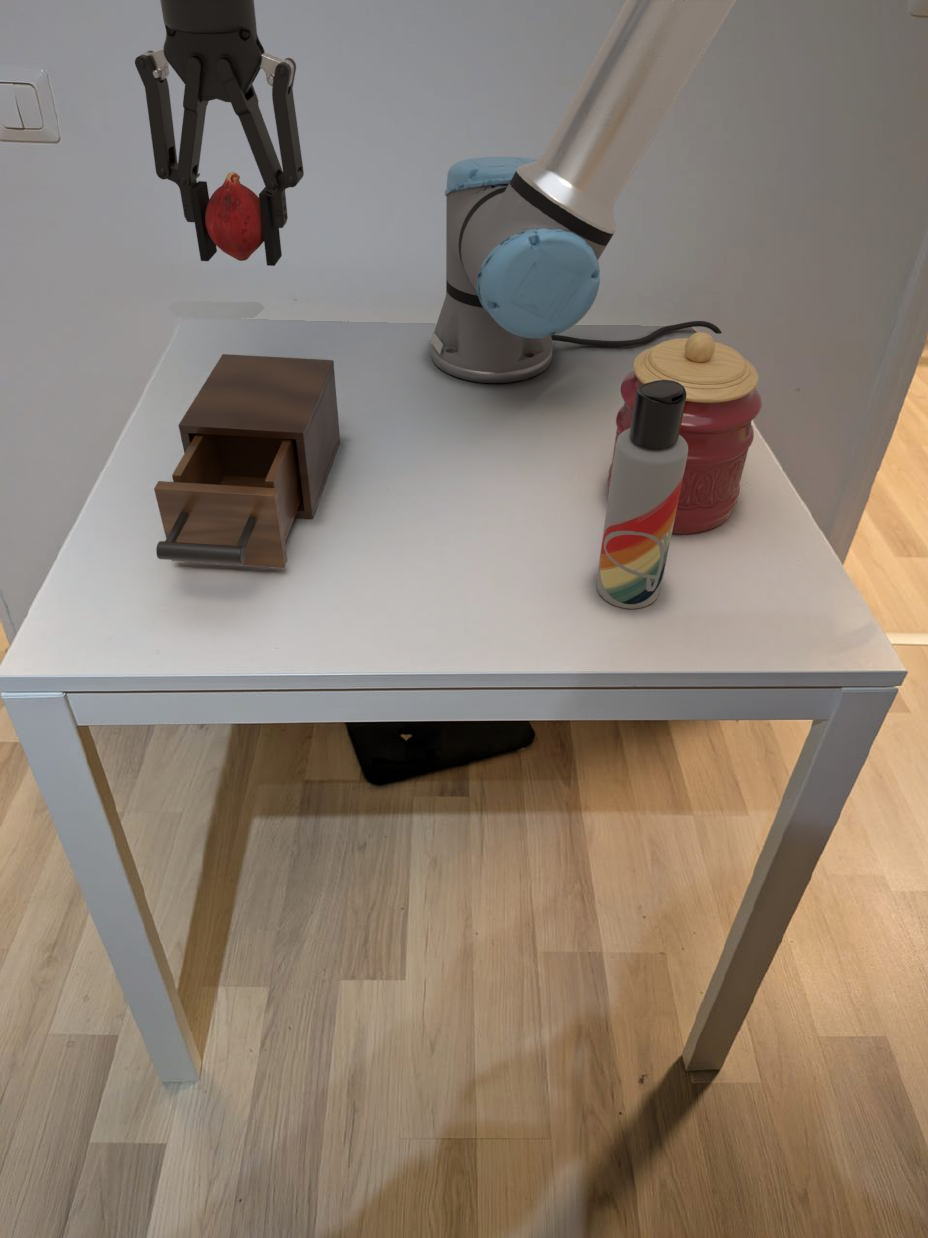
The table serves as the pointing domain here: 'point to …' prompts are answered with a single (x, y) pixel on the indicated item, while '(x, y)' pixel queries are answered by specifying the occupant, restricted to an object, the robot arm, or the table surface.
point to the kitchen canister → (702, 421)
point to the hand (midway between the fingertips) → (241, 257)
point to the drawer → (231, 501)
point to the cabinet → (273, 411)
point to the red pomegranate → (235, 219)
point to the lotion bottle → (643, 497)
